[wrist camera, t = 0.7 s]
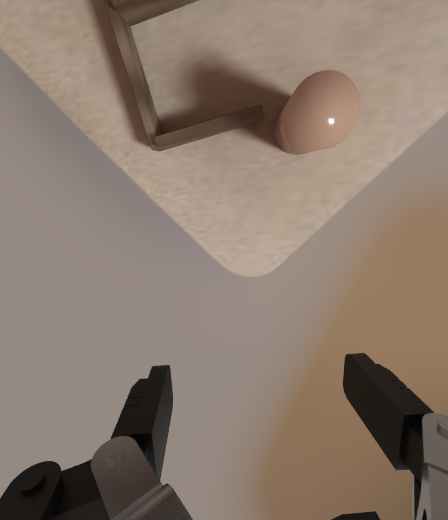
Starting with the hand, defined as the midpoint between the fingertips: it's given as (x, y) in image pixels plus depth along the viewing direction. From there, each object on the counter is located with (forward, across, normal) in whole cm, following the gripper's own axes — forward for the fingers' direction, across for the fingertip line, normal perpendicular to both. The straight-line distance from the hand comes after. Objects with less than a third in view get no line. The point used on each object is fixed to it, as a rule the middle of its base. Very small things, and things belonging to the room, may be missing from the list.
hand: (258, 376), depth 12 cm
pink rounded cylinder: (+23, -9, -15) cm, 29 cm away
